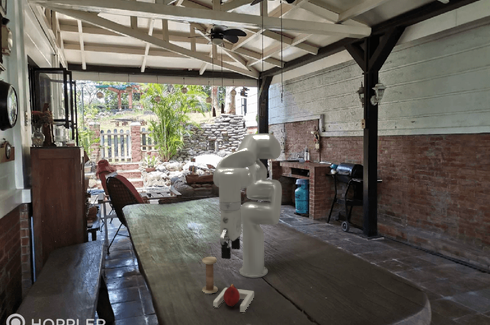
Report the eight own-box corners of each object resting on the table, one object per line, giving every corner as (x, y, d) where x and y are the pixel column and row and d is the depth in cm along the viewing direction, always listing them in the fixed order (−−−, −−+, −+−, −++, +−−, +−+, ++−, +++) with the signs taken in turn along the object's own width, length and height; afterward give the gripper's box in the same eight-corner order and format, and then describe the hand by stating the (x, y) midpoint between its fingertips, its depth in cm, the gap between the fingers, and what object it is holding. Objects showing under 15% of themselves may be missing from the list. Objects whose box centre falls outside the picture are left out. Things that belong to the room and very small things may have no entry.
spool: (206, 287, 140) (205, 255, 139) (220, 289, 138) (219, 257, 137) (199, 293, 134) (199, 261, 133) (214, 295, 132) (213, 262, 131)
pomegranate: (239, 310, 121) (239, 288, 120) (222, 310, 121) (223, 287, 120) (239, 303, 126) (240, 281, 126) (224, 302, 127) (224, 281, 126)
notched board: (225, 293, 134) (225, 287, 134) (254, 297, 130) (254, 291, 130) (213, 308, 123) (213, 301, 122) (244, 313, 119) (244, 306, 119)
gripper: (231, 212, 111) (232, 263, 113) (247, 201, 128) (248, 246, 129) (210, 210, 114) (211, 261, 115) (228, 200, 130) (229, 244, 132)
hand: (231, 253), depth 122 cm, fingers open, 9 cm apart
